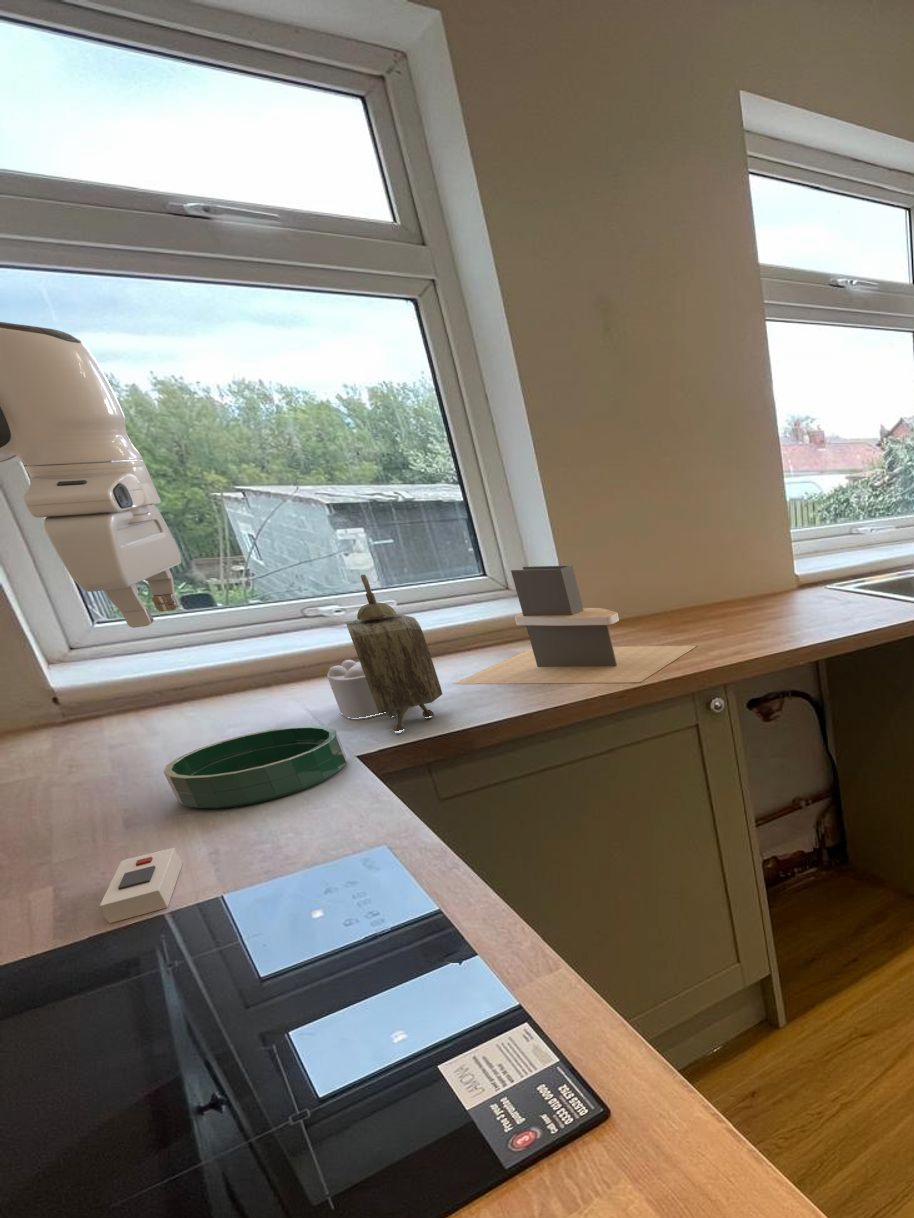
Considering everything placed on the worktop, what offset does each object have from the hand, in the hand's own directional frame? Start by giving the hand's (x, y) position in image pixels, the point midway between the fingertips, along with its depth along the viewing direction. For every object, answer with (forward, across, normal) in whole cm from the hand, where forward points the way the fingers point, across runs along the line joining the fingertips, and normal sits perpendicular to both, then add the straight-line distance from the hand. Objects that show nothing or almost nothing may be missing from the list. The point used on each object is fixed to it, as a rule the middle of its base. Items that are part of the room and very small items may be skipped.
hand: (156, 617), depth 93 cm
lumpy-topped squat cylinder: (+27, -49, +9) cm, 57 cm away
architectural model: (+27, -55, +43) cm, 75 cm away
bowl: (+27, -17, -1) cm, 32 cm away
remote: (+27, +13, -7) cm, 31 cm away
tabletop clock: (+27, -35, +16) cm, 47 cm away
